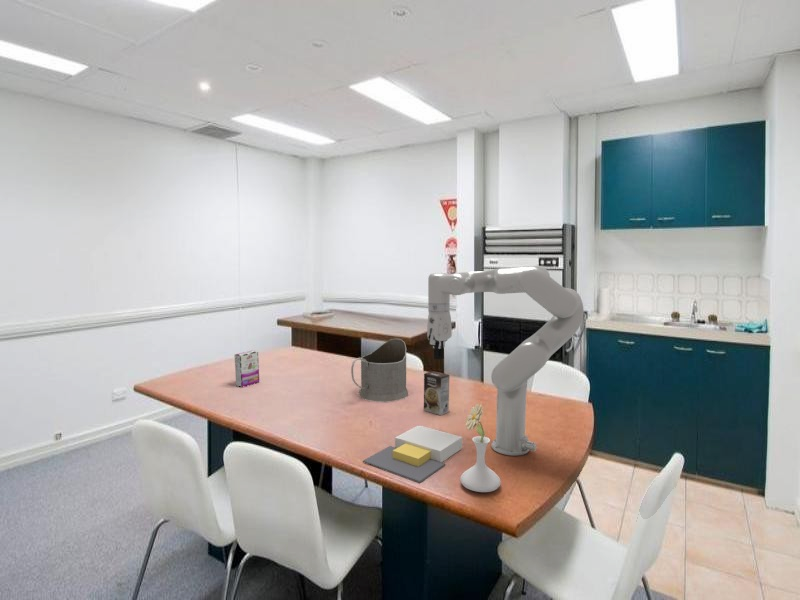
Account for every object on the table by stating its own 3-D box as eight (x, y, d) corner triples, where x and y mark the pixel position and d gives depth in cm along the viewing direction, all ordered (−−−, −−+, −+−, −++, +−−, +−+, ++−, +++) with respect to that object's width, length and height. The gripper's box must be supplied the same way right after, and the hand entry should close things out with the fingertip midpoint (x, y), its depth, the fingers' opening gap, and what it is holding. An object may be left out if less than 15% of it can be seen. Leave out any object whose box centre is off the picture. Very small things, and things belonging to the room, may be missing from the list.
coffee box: (423, 410, 193) (423, 373, 192) (432, 406, 198) (432, 370, 196) (440, 415, 187) (440, 377, 186) (449, 411, 192) (449, 374, 190)
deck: (462, 448, 156) (462, 437, 155) (440, 463, 145) (440, 451, 144) (418, 435, 167) (418, 425, 166) (395, 448, 155) (395, 437, 155)
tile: (430, 458, 147) (430, 451, 146) (418, 466, 141) (418, 458, 141) (405, 450, 153) (405, 443, 152) (392, 457, 147) (392, 450, 147)
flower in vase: (463, 474, 138) (464, 393, 135) (502, 479, 134) (504, 396, 132) (456, 496, 125) (457, 407, 123) (498, 502, 122) (500, 411, 119)
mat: (445, 465, 143) (445, 463, 143) (419, 483, 132) (419, 481, 132) (390, 447, 157) (390, 445, 156) (362, 462, 145) (362, 460, 145)
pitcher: (418, 393, 217) (418, 341, 215) (370, 410, 194) (370, 352, 191) (383, 384, 233) (382, 335, 230) (335, 398, 209) (334, 345, 207)
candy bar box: (253, 381, 238) (252, 350, 237) (259, 382, 236) (258, 351, 234) (235, 386, 229) (233, 354, 227) (241, 387, 226) (240, 355, 225)
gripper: (437, 310, 154) (437, 364, 156) (458, 306, 166) (458, 356, 168) (418, 309, 159) (418, 361, 160) (440, 305, 171) (440, 353, 173)
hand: (438, 358), depth 164 cm, fingers closed
